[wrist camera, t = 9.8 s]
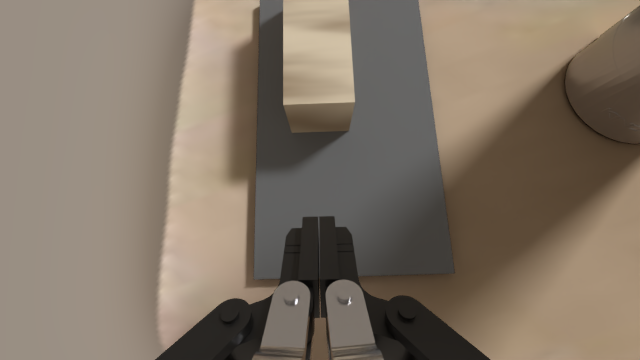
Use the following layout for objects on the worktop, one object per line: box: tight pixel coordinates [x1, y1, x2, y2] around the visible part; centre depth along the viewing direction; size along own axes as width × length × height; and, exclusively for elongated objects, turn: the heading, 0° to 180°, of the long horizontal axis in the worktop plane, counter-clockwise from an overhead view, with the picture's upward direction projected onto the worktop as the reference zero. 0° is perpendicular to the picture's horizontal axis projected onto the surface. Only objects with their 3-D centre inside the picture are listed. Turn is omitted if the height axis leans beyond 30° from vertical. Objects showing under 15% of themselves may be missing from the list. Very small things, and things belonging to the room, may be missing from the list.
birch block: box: [283, 0, 355, 133], centre depth 21 cm, size 4×4×12 cm
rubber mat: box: [254, 0, 455, 279], centre depth 22 cm, size 24×14×1 cm, turn 2°
